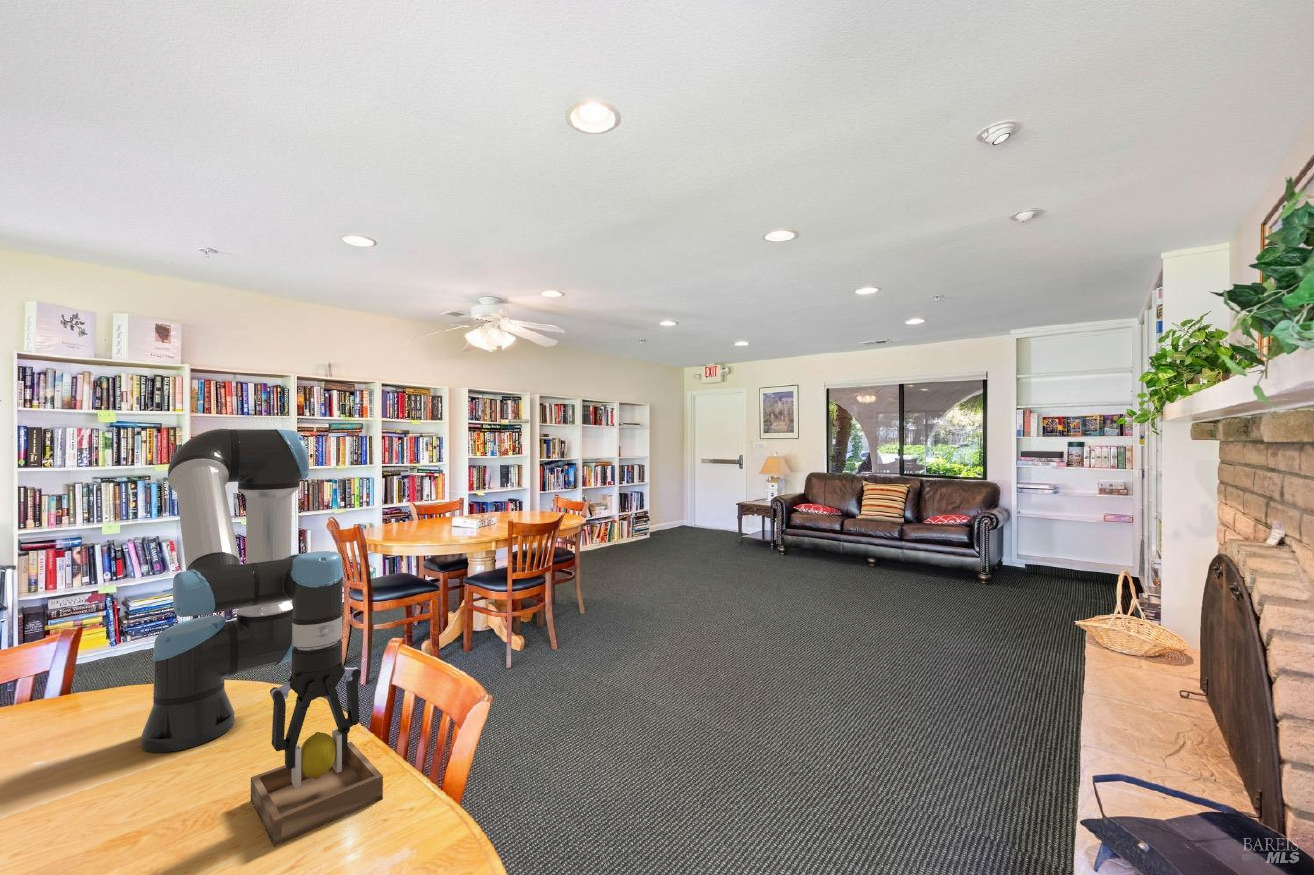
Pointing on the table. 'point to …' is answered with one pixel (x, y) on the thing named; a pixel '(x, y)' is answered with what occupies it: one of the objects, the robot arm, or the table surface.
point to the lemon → (317, 755)
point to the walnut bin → (314, 796)
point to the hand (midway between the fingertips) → (317, 776)
